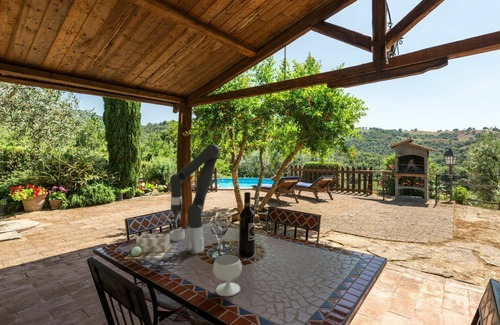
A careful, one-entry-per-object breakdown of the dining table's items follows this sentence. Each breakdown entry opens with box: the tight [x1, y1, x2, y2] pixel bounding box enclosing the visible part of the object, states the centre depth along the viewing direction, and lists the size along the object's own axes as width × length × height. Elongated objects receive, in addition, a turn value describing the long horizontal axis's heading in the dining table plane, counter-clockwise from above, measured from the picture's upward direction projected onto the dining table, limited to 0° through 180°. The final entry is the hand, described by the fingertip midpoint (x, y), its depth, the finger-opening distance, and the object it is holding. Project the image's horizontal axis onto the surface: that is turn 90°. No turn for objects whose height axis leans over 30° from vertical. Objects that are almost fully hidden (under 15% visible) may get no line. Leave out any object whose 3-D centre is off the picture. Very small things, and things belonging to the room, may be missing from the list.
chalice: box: [212, 254, 243, 297], centre depth 121 cm, size 14×14×15 cm
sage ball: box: [130, 245, 141, 256], centre depth 161 cm, size 6×6×6 cm
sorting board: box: [123, 233, 176, 260], centre depth 167 cm, size 25×23×10 cm
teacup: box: [169, 228, 185, 242], centre depth 194 cm, size 14×11×8 cm
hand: (176, 226), depth 171 cm, fingers open, 8 cm apart
